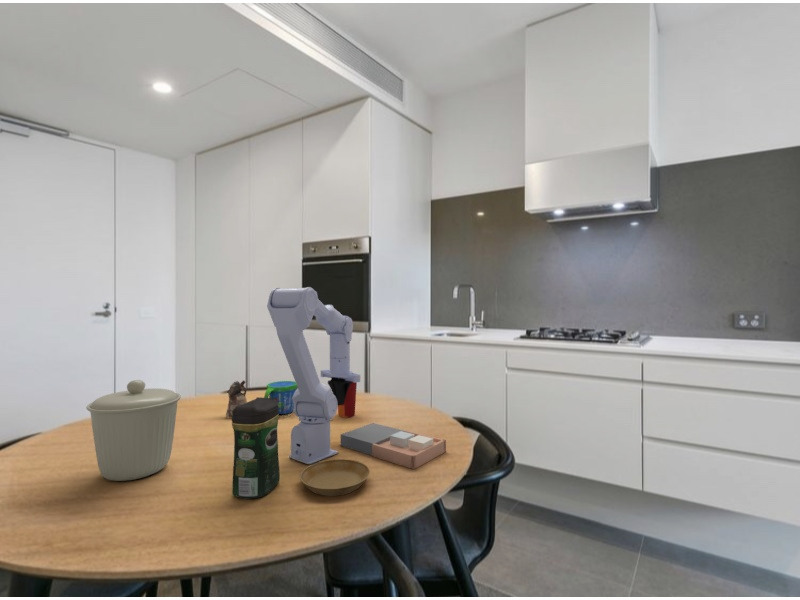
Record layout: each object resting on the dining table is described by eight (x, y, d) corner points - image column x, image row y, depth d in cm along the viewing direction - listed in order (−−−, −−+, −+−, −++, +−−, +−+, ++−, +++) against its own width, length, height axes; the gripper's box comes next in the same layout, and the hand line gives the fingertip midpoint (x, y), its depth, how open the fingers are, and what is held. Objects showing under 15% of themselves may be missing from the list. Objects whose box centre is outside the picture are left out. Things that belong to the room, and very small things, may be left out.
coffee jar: (252, 478, 89) (251, 393, 89) (285, 480, 87) (284, 395, 87) (224, 499, 79) (224, 404, 79) (260, 502, 77) (260, 406, 78)
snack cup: (273, 420, 133) (273, 389, 133) (254, 415, 139) (254, 385, 139) (309, 409, 146) (309, 381, 146) (290, 405, 152) (290, 378, 152)
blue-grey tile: (404, 447, 100) (404, 439, 100) (390, 444, 103) (390, 435, 103) (414, 442, 104) (414, 434, 104) (400, 439, 107) (400, 431, 107)
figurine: (227, 413, 141) (227, 379, 141) (248, 412, 143) (248, 378, 143) (224, 419, 134) (224, 383, 134) (247, 417, 136) (247, 382, 136)
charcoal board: (373, 455, 101) (373, 443, 101) (340, 445, 108) (340, 434, 109) (404, 441, 111) (404, 430, 111) (372, 433, 119) (372, 422, 119)
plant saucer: (384, 484, 85) (384, 472, 85) (325, 509, 75) (325, 495, 75) (343, 465, 96) (343, 454, 96) (287, 484, 86) (287, 472, 86)
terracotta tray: (413, 469, 93) (413, 456, 93) (372, 456, 101) (372, 444, 101) (445, 451, 104) (445, 439, 104) (406, 441, 112) (405, 430, 112)
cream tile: (423, 452, 97) (423, 443, 97) (408, 448, 100) (408, 439, 100) (433, 447, 101) (433, 438, 101) (418, 443, 103) (418, 435, 103)
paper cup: (359, 412, 141) (359, 372, 141) (355, 418, 134) (355, 376, 134) (338, 412, 142) (337, 372, 142) (332, 418, 134) (332, 376, 134)
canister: (102, 462, 97) (102, 376, 98) (186, 452, 104) (185, 371, 104) (71, 496, 81) (71, 391, 81) (173, 481, 87) (173, 384, 87)
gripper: (367, 357, 114) (367, 405, 114) (333, 354, 123) (333, 398, 123) (349, 360, 108) (350, 410, 108) (315, 356, 117) (315, 402, 117)
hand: (339, 404), depth 115 cm, fingers closed
